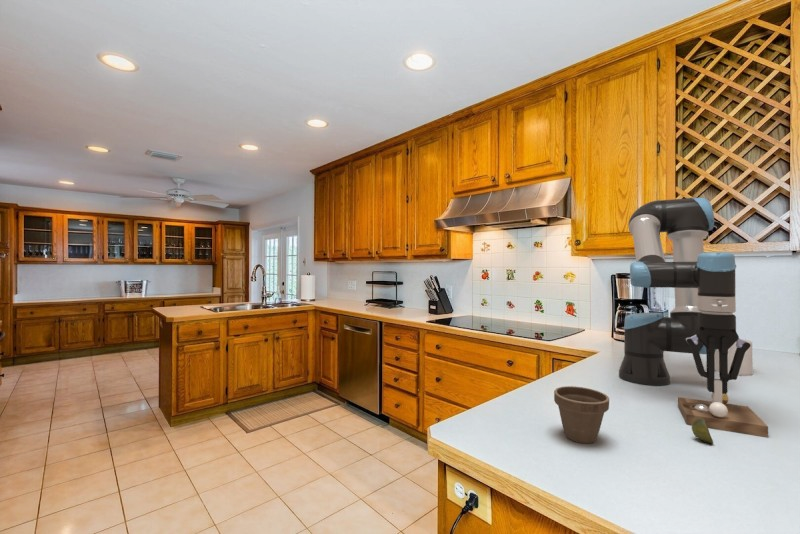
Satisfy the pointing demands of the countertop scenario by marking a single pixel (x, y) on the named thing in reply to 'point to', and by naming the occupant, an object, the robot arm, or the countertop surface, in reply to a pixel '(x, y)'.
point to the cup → (746, 364)
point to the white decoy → (718, 409)
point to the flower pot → (581, 412)
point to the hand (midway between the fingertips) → (717, 405)
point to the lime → (701, 430)
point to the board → (734, 421)
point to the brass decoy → (724, 398)
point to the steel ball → (701, 407)
